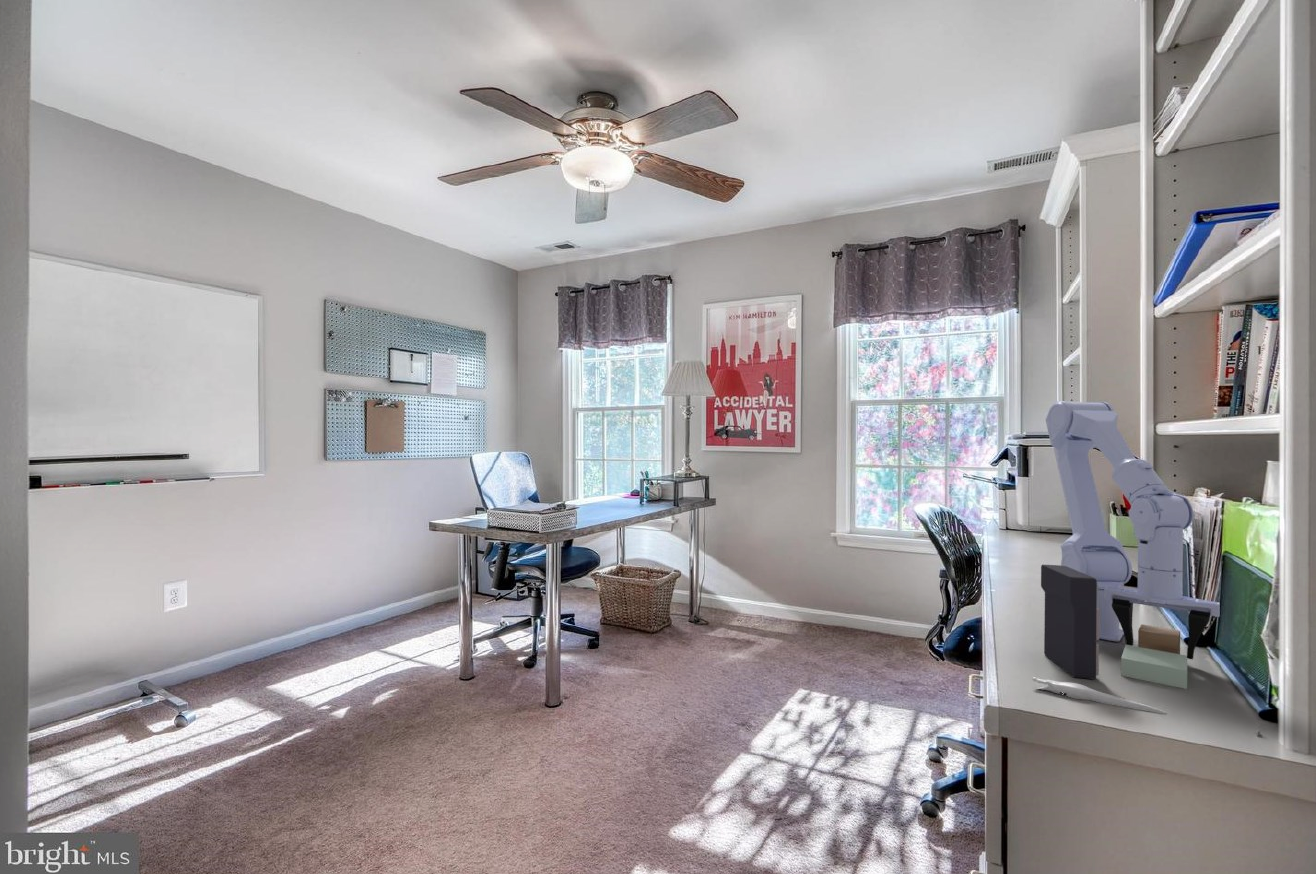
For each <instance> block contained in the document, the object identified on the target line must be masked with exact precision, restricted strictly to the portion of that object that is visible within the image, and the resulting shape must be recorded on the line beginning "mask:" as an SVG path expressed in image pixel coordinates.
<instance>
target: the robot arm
mask: <svg viewBox="0 0 1316 874" xmlns="http://www.w3.org/2000/svg"><path fill="white" fill-rule="evenodd" d="M1118 416H1119V415H1118V413H1117V412H1115V410H1114V408H1113V406H1112V405H1111V404H1110V403H1109V402H1106V401H1098V402H1090V401H1089V402H1086V401H1085V402H1083V401H1064V400H1057V401H1055V402H1054V403H1053V404H1052V405H1051V407H1050V408H1049V411H1048V412H1047V415H1046V417H1045V424H1046V428H1047V431H1048V436H1049V441H1050V445H1051V447H1053V449H1054V456H1055V459H1056V466H1057V469H1058V473H1059V474H1058V475H1059V477H1060V478H1059V479H1060V483H1061V487H1062V491H1063V497H1064V501H1065V504H1066V505H1065V506H1066V510H1067V514H1068V518H1069V523H1070V527H1071V531H1072V535H1071V536H1069V538H1068V539H1066V540H1065V541H1064V542H1063V543H1062V544H1061V545H1060V548H1061V561H1060V563H1061V564H1060V565H1061V566H1067V567H1069V568H1072V569H1074V570H1076V571H1079V572H1081V573H1084V574H1086V575H1089V576H1091V577H1093V578H1095V579H1096V580H1097V582H1098V605H1097V608H1098V609H1099V640H1105V641H1111V642H1117V643H1119V642H1120V641H1121V639H1122V638H1123V636H1124V640H1125V645H1131V646H1134V630H1133V611H1134V610H1133V609H1134V604H1137V605H1143V606H1149V607H1150V606H1151V607H1155V608H1163V609H1171V610H1176V611H1181V612H1183V611H1184V612H1188V615H1187V616H1188V641H1187V649H1186V650H1187V651H1186V656H1187V660H1188V659H1189V660H1194V652H1195V650H1196V649H1195V648H1196V646H1197V643H1198V641H1199V638H1200V637H1201V634H1202V633H1203V631H1204V630H1205V628H1206V627H1207V625H1208V624H1209V622H1210V619H1211V617H1217V618H1219V617H1220V610H1221V609H1220V608H1221V607H1220V606H1221V605H1220V604H1221V603H1220V602H1218V601H1211V600H1207V599H1206V600H1205V599H1200V598H1194V597H1190V596H1183V590H1184V589H1183V587H1184V586H1183V582H1184V581H1183V579H1184V578H1183V577H1184V576H1183V575H1184V574H1183V572H1184V571H1183V568H1184V567H1183V565H1184V561H1183V560H1184V558H1183V557H1184V555H1183V554H1184V551H1183V550H1184V530H1186V529H1188V528H1189V527H1190V526H1191V524H1192V523H1193V519H1194V509H1193V507H1192V504H1191V503H1190V500H1189V499H1188V497H1186V496H1184V495H1182V494H1179V493H1176V492H1175V491H1174V490H1170V489H1168V487H1167V486H1166V484H1165V483H1164V481H1163V480H1162V479H1161V478H1160V476H1159V475H1158V473H1157V472H1156V471H1155V470H1154V469H1153V468H1154V467H1153V465H1152V464H1151V463H1150V462H1149V461H1147V460H1145V459H1143V458H1142V459H1141V458H1136V457H1135V455H1134V453H1133V451H1132V450H1131V448H1130V447H1129V445H1128V443H1127V442H1126V440H1125V438H1124V437H1123V435H1122V434H1121V432H1120V430H1119V428H1118V427H1117V425H1118V421H1119V417H1118ZM1096 447H1097V449H1099V452H1101V453H1102V455H1103V456H1104V457H1105V458H1106V459H1107V461H1108V462H1109V463H1110V464H1111V465H1112V467H1113V471H1112V472H1111V477H1112V480H1113V481H1114V482H1115V484H1116V486H1117V487H1118V488H1119V490H1120V491H1121V493H1122V495H1123V496H1124V497H1125V499H1126V500H1127V502H1128V503H1129V505H1130V509H1128V517H1129V520H1130V522H1131V524H1132V525H1133V529H1134V530H1133V533H1134V534H1133V535H1134V536H1135V539H1137V589H1130V588H1125V587H1124V586H1125V584H1127V583H1128V582H1129V581H1130V580H1131V577H1132V573H1133V566H1132V562H1131V560H1130V558H1129V557H1128V555H1127V553H1126V552H1125V550H1124V547H1123V543H1122V541H1120V540H1119V539H1117V538H1116V537H1115V536H1113V535H1111V534H1110V533H1108V532H1107V528H1106V524H1105V521H1104V517H1103V513H1102V509H1101V505H1100V504H1101V503H1100V500H1099V496H1098V493H1097V489H1096V484H1095V480H1094V476H1093V471H1092V468H1091V464H1090V459H1089V455H1088V454H1089V452H1090V450H1092V449H1094V448H1096ZM1120 626H1121V628H1120Z"/></svg>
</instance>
